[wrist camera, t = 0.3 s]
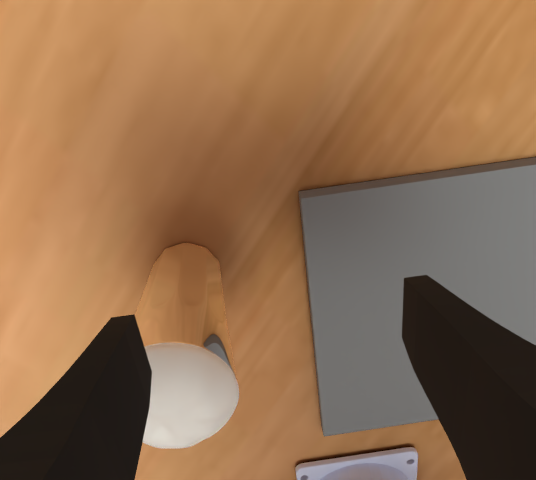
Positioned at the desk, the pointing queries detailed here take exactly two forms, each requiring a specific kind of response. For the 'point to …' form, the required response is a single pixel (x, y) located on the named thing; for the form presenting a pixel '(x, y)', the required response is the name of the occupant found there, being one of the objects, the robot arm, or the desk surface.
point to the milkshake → (186, 348)
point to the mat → (409, 265)
